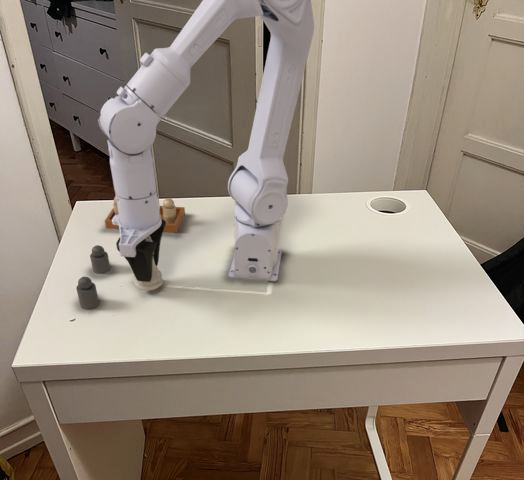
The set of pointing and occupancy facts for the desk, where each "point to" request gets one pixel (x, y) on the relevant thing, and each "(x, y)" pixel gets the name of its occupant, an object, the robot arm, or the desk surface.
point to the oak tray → (169, 227)
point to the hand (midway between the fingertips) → (147, 272)
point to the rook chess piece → (155, 279)
